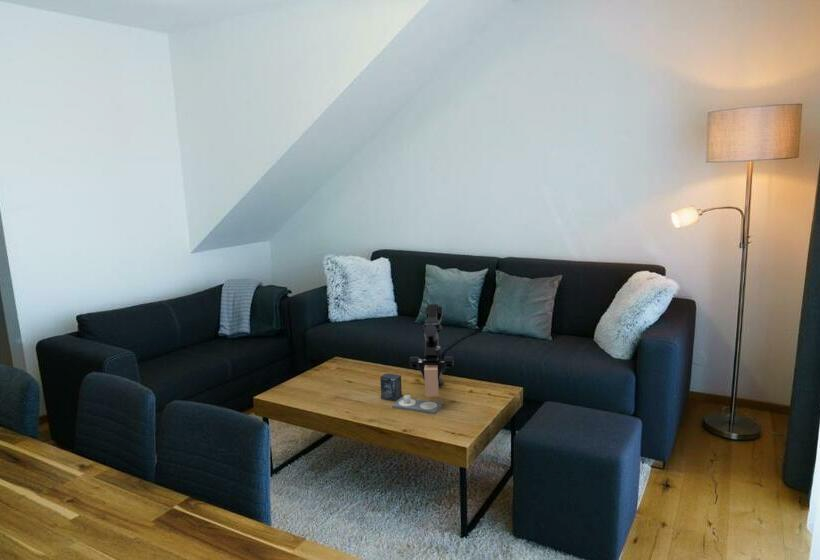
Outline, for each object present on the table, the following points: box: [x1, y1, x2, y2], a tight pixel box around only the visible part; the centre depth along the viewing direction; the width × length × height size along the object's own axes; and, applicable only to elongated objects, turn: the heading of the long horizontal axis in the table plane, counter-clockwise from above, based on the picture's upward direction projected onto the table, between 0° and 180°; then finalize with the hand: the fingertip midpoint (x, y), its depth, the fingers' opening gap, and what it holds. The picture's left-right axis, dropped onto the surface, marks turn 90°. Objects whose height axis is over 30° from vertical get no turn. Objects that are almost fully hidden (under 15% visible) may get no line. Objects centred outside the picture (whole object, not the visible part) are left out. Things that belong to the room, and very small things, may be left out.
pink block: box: [424, 364, 440, 397], centre depth 247 cm, size 6×6×12 cm
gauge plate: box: [391, 394, 444, 415], centre depth 252 cm, size 10×20×4 cm, turn 67°
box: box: [379, 372, 403, 402], centre depth 262 cm, size 8×6×11 cm
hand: (431, 380), depth 246 cm, fingers closed on pink block, 5 cm apart
